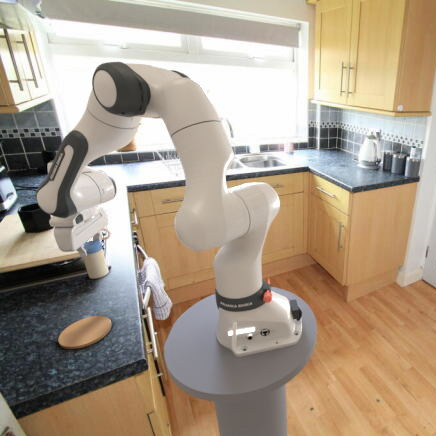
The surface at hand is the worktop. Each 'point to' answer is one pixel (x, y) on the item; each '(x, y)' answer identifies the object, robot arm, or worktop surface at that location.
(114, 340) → the worktop surface
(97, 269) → the jam jar
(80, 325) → the trivet
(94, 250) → the jar lid
